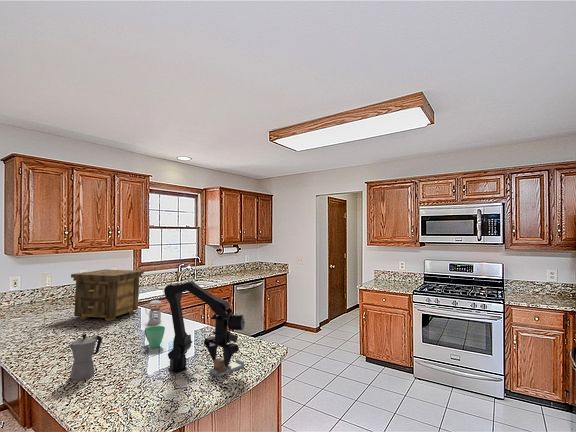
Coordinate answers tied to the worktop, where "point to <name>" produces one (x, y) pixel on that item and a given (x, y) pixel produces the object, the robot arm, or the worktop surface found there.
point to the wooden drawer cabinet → (106, 293)
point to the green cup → (154, 335)
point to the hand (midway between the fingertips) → (220, 364)
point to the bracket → (228, 368)
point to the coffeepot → (84, 357)
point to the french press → (156, 309)
